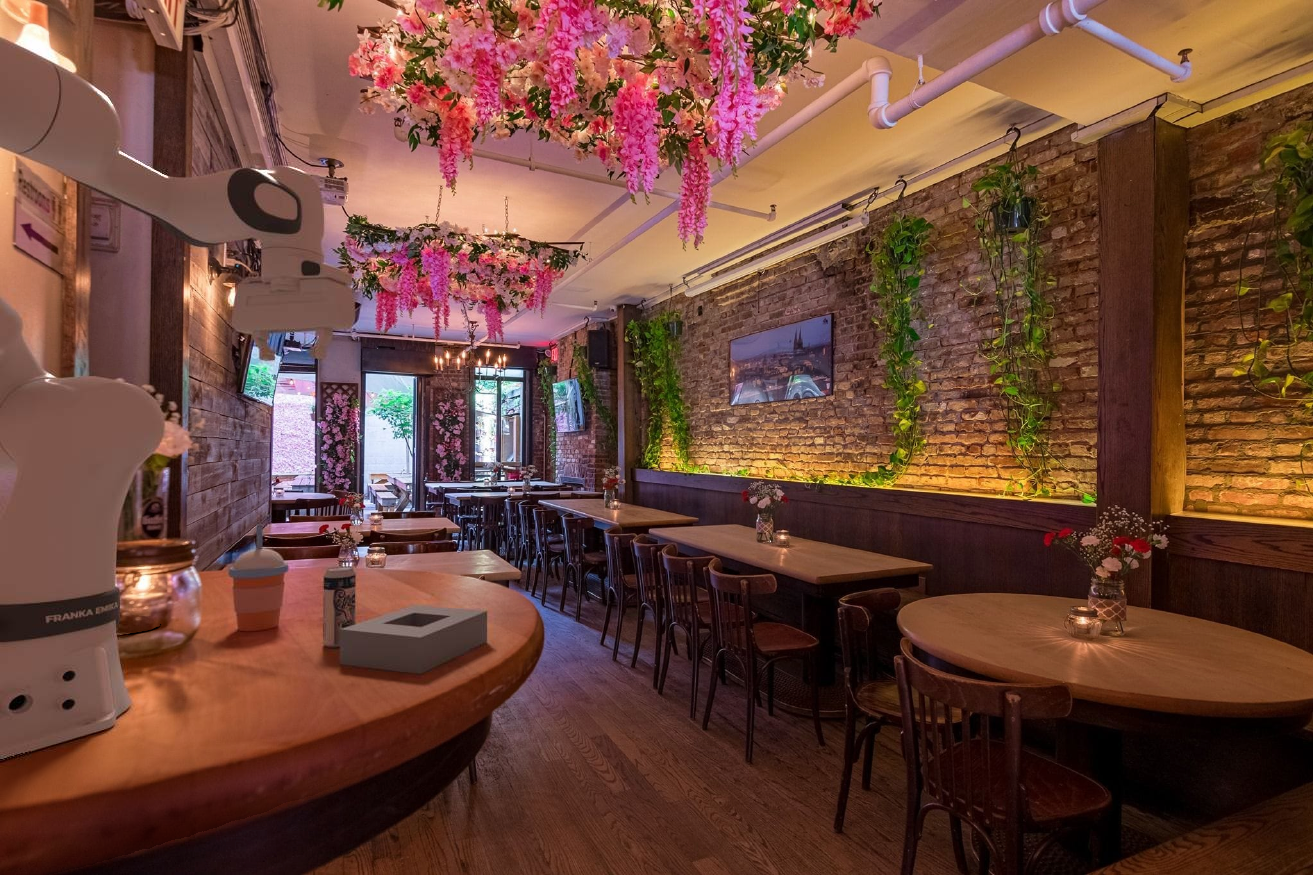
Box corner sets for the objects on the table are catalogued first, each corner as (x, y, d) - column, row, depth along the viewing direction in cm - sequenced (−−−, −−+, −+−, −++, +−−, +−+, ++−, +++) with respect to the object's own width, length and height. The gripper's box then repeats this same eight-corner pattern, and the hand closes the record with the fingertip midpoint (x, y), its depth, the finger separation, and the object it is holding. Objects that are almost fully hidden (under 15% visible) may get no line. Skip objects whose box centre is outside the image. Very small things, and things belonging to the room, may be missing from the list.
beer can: (342, 649, 101) (343, 571, 102) (315, 647, 102) (316, 570, 103) (362, 640, 106) (362, 566, 106) (336, 639, 107) (336, 565, 107)
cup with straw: (232, 624, 117) (233, 523, 118) (290, 618, 121) (291, 521, 122) (223, 636, 109) (224, 528, 110) (285, 630, 113) (286, 525, 114)
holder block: (420, 674, 90) (420, 637, 90) (339, 664, 94) (339, 629, 94) (487, 642, 105) (487, 610, 105) (414, 635, 109) (414, 605, 109)
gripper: (221, 272, 104) (220, 358, 104) (334, 264, 100) (334, 354, 100) (253, 282, 111) (252, 364, 110) (361, 275, 107) (360, 359, 106)
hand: (292, 359), depth 105 cm, fingers open, 8 cm apart
